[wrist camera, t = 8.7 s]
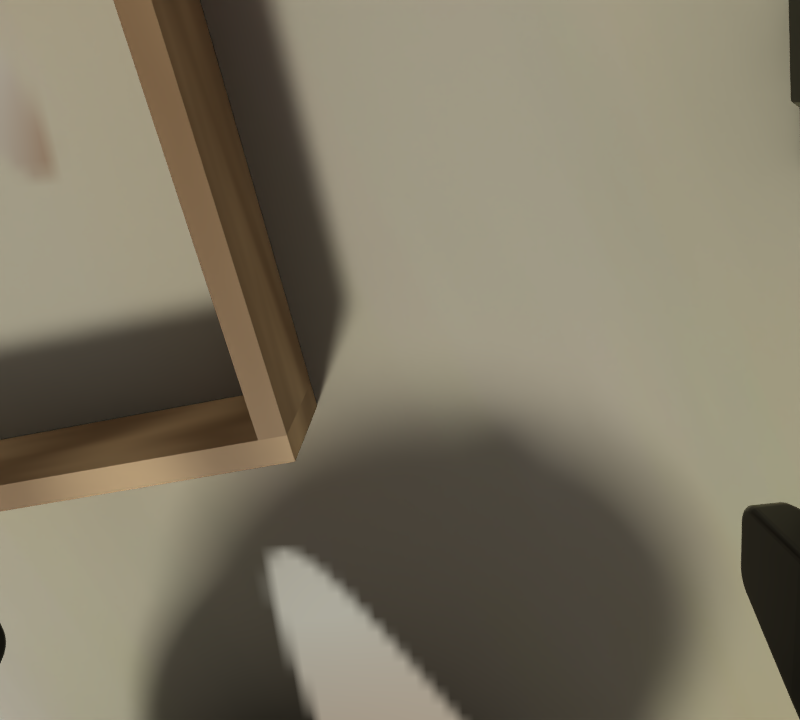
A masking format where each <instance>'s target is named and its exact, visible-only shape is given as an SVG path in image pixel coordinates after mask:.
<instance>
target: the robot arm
mask: <svg viewBox="0 0 800 720" xmlns="http://www.w3.org/2000/svg"><path fill="white" fill-rule="evenodd" d="M789 33H790V80H791V101H792V102H793V103H794V104H796V105H797V106H798V107H800V0H789ZM741 573H742V579H743V584H744V587H745V590H746V593H747V595H748V598H749V600H750V602H751V605H752V607H753V610H754V612H755V614H756V617H757V619H758V622H759V624H760V626H761V629H762V631H763V634H764V636H765V638H766V641H767V643H768V646H769V648H770V650H771V653H772V655H773V658H774V660H775V662H776V665H777V667H778V670H779V672H780V674H781V677H782V679H783V682H784V684H785V686H786V689H787V691H788V694H789V696H790V698H791V701H792V703H793V705H794V708H795V710H796V712H797V714H798V717H799V719H800V509H799V508H797V507H795V506H792V505H790V504H788V503H783V502H779V503H769V504H760V505H751V506H748V507H747V508H746V509H745V510H744V513H743V516H742V544H741ZM5 647H6V638H5V633H4V630H3V628H2V626H1V624H0V663H1V660H2V658H3V655H4V652H5Z"/></svg>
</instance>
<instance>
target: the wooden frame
mask: <svg viewBox="0 0 800 720" xmlns="http://www.w3.org/2000/svg"><path fill="white" fill-rule="evenodd" d="M114 3H115V7H116V10H117V13H118V16H119V19H120V22H121V25H122V28H123V31H124V34H125V37H126V40H127V43H128V46H129V49H130V52H131V55H132V58H133V61H134V64H135V67H136V70H137V73H138V76H139V80H140V83H141V86H142V89H143V92H144V95H145V98H146V101H147V104H148V107H149V110H150V113H151V116H152V119H153V122H154V125H155V128H156V131H157V134H158V137H159V140H160V143H161V146H162V149H163V153H164V156H165V159H166V162H167V165H168V168H169V171H170V174H171V177H172V180H173V183H174V186H175V189H176V192H177V195H178V198H179V201H180V204H181V207H182V210H183V213H184V216H185V219H186V223H187V226H188V229H189V232H190V235H191V238H192V241H193V244H194V247H195V250H196V253H197V256H198V259H199V262H200V265H201V268H202V271H203V274H204V277H205V280H206V283H207V286H208V289H209V292H210V296H211V299H212V302H213V305H214V308H215V311H216V314H217V317H218V320H219V323H220V326H221V329H222V332H223V335H224V338H225V341H226V344H227V347H228V350H229V353H230V356H231V359H232V362H233V365H234V369H235V372H236V375H237V378H238V381H239V384H240V387H241V390H242V393H243V395H242V396H236V397H231V398H225V399H220V400H214V401H209V402H204V403H198V404H193V405H187V406H182V407H176V408H171V409H166V410H160V411H155V412H149V413H144V414H138V415H133V416H128V417H122V418H117V419H111V420H106V421H100V422H95V423H90V424H84V425H79V426H73V427H68V428H62V429H57V430H52V431H46V432H41V433H35V434H30V435H24V436H19V437H14V438H8V439H3V440H0V511H5V510H11V509H17V508H23V507H29V506H35V505H41V504H47V503H53V502H59V501H65V500H70V499H76V498H82V497H88V496H94V495H100V494H106V493H112V492H118V491H124V490H130V489H136V488H141V487H147V486H153V485H159V484H165V483H171V482H177V481H183V480H189V479H195V478H201V477H207V476H212V475H218V474H224V473H230V472H236V471H242V470H248V469H254V468H260V467H266V466H272V465H277V464H283V463H289V462H295V460H296V458H297V455H298V453H299V450H300V448H301V445H302V443H303V440H304V438H305V435H306V433H307V430H308V428H309V425H310V422H311V420H312V417H313V415H314V412H315V410H316V407H317V404H316V400H315V397H314V393H313V390H312V386H311V383H310V379H309V376H308V372H307V369H306V366H305V362H304V359H303V355H302V352H301V348H300V345H299V341H298V338H297V334H296V331H295V328H294V324H293V321H292V317H291V314H290V310H289V307H288V303H287V300H286V296H285V293H284V290H283V286H282V283H281V279H280V276H279V272H278V269H277V265H276V262H275V258H274V255H273V252H272V248H271V245H270V241H269V238H268V234H267V231H266V227H265V224H264V220H263V217H262V214H261V210H260V207H259V203H258V200H257V196H256V193H255V189H254V186H253V182H252V179H251V176H250V172H249V169H248V165H247V162H246V158H245V155H244V151H243V148H242V144H241V141H240V138H239V134H238V131H237V127H236V124H235V120H234V117H233V113H232V110H231V106H230V103H229V99H228V96H227V93H226V89H225V86H224V82H223V79H222V75H221V72H220V68H219V65H218V61H217V58H216V55H215V51H214V48H213V44H212V41H211V37H210V34H209V30H208V27H207V23H206V20H205V17H204V13H203V10H202V6H201V3H200V0H114Z"/></svg>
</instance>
